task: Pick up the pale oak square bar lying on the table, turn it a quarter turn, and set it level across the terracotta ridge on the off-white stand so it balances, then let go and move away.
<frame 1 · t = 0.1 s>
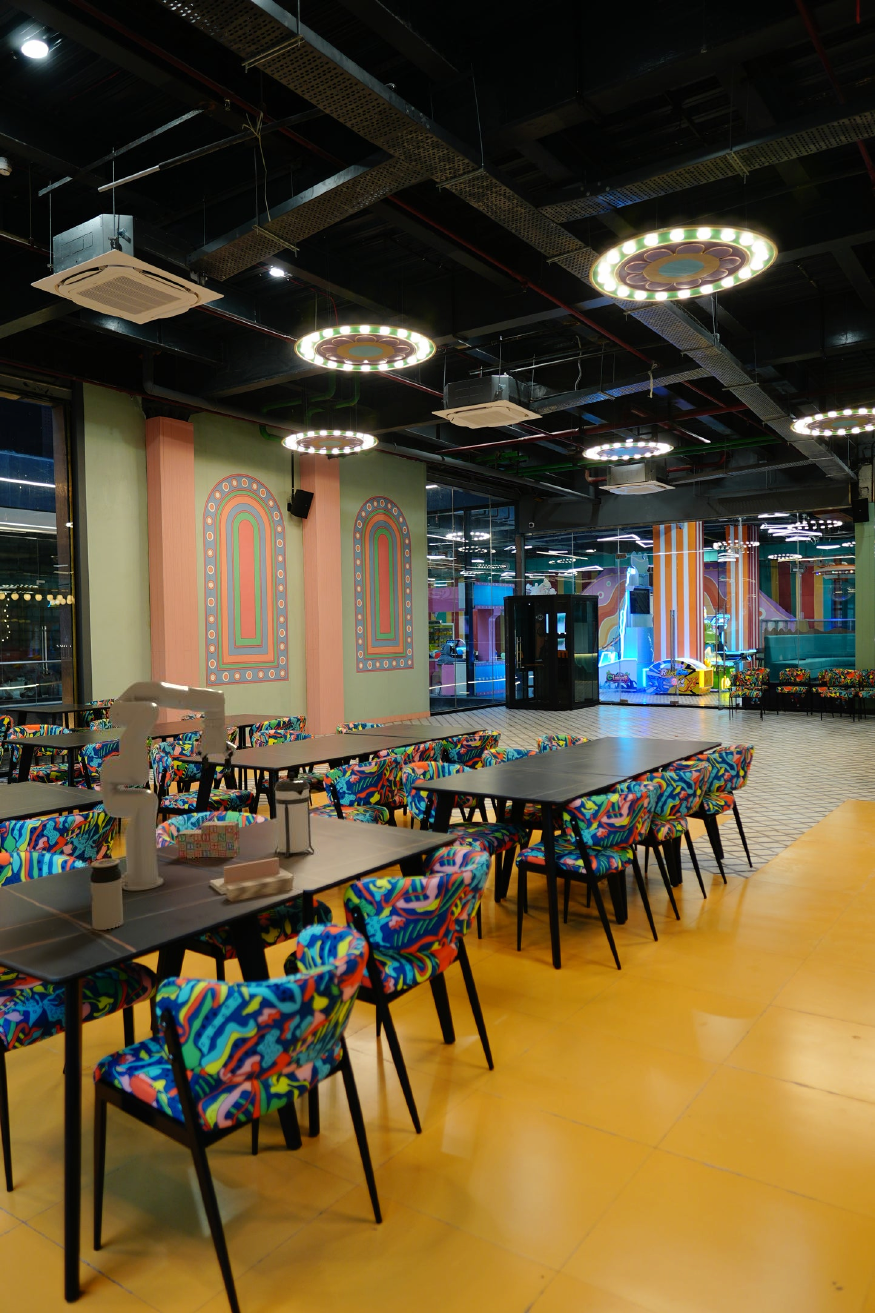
hand: (216, 768, 313), 31 cm above the table, tool pointing down, fingers open, 9 cm apart
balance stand: (252, 882, 270), on the table
coffee press: (292, 853, 307), on the table
stack of blocks: (209, 856, 307), on the table
travel mug: (108, 926, 233), on the table
oak bar: (260, 894, 258), on the table
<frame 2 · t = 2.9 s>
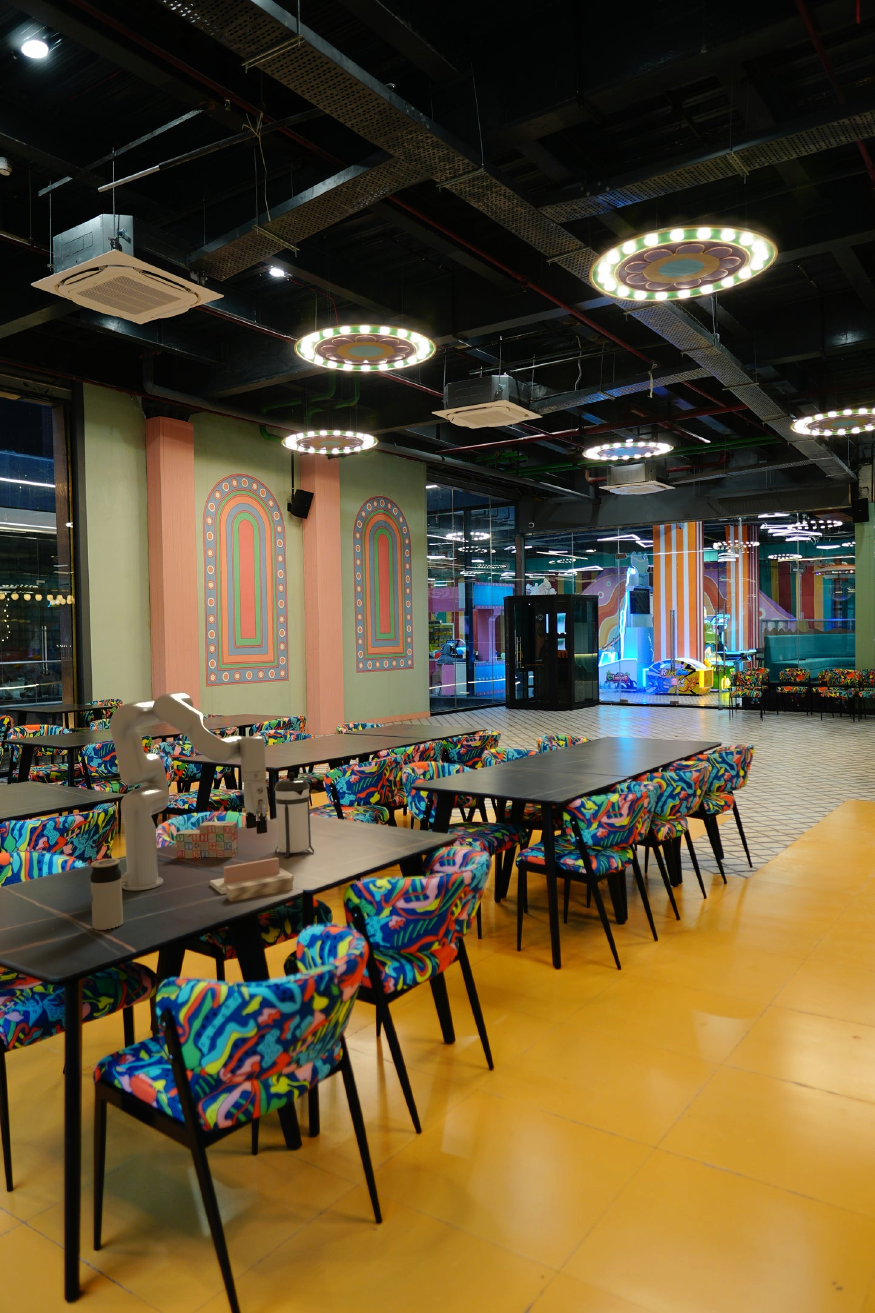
hand: (256, 830, 260), 19 cm above the table, tool pointing down, fingers open, 9 cm apart
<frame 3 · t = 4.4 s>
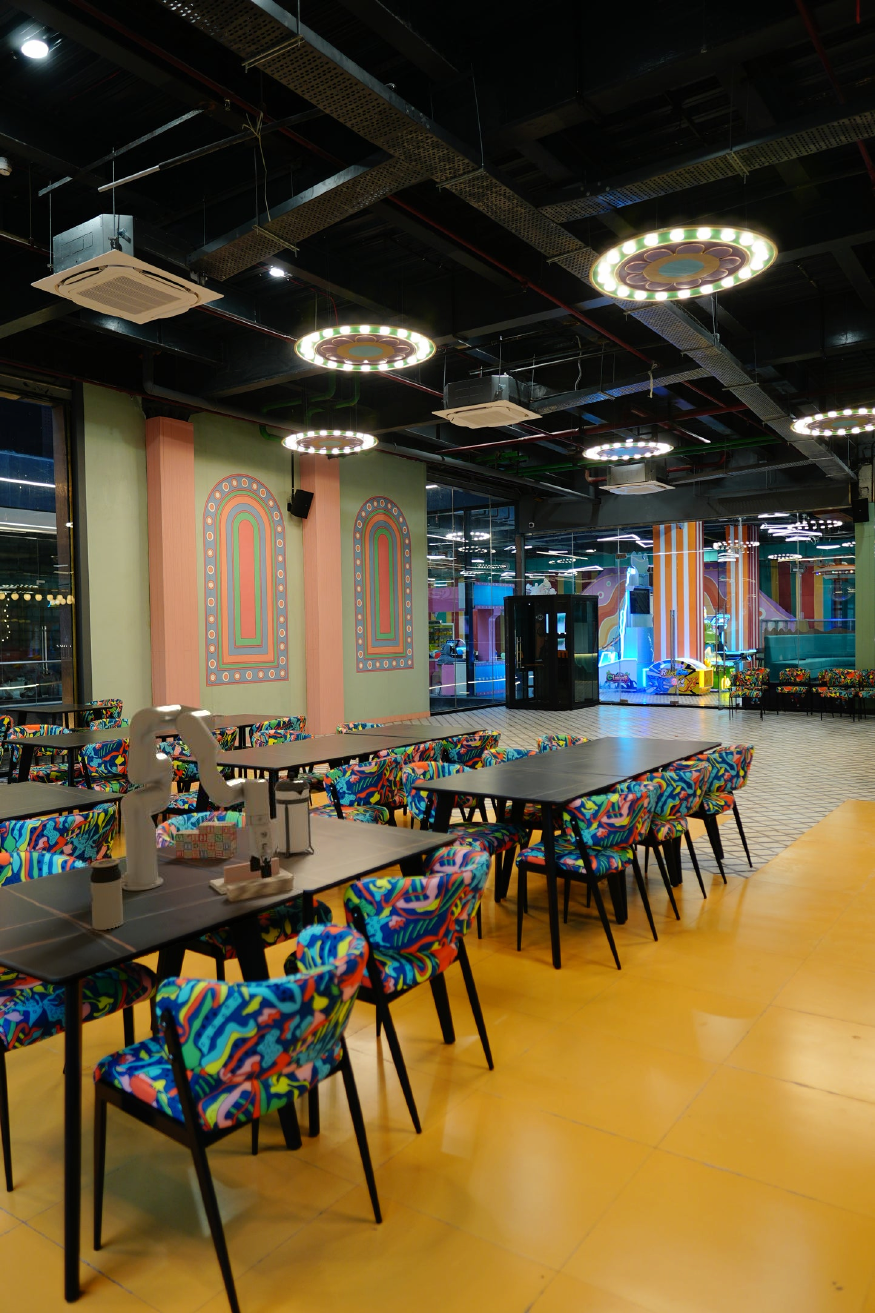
hand: (261, 874, 258), 6 cm above the table, tool pointing down, fingers open, 9 cm apart
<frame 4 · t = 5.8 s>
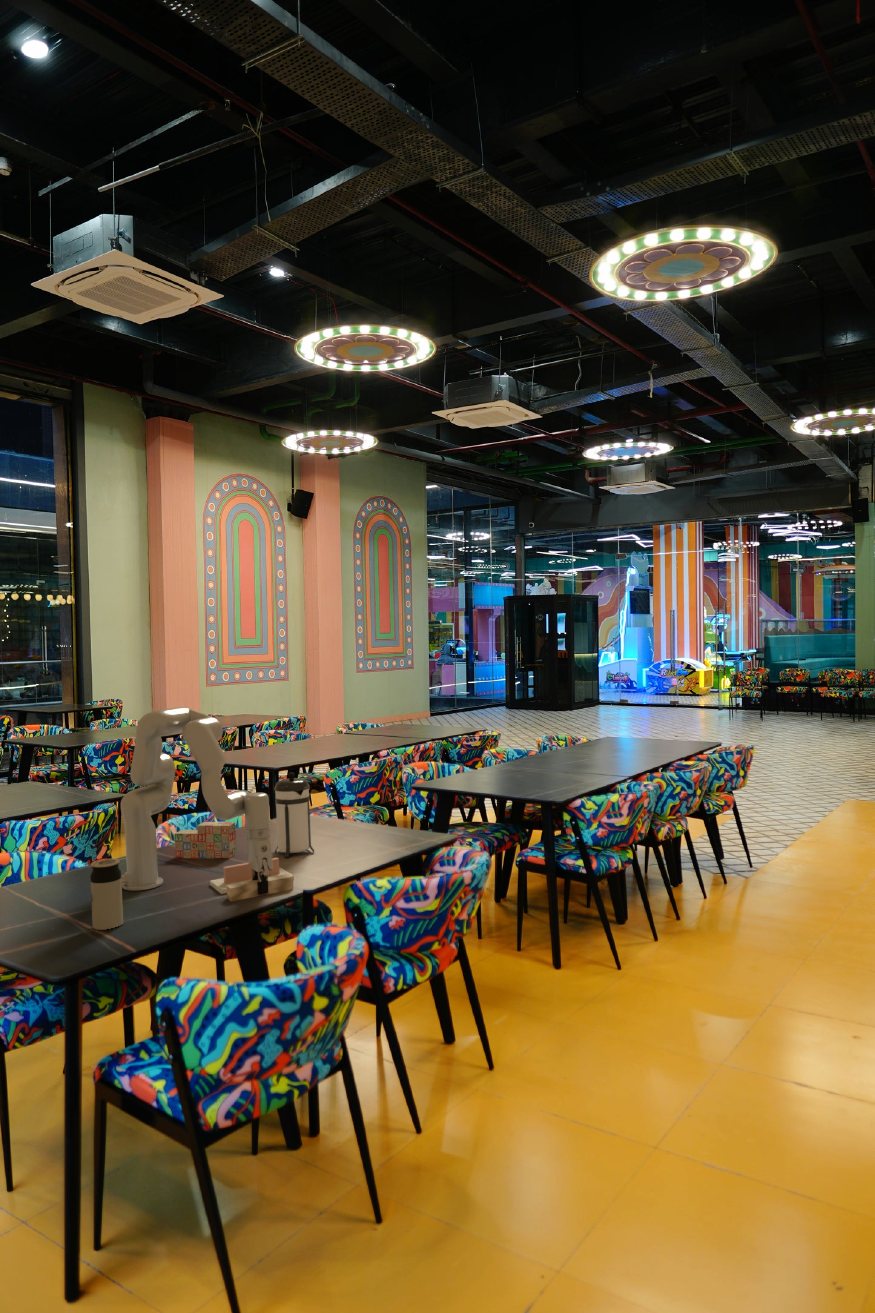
hand: (260, 891, 258), 1 cm above the table, tool pointing down, fingers closed on oak bar, 4 cm apart
oak bar: (260, 893, 258), on the table, touching gripper
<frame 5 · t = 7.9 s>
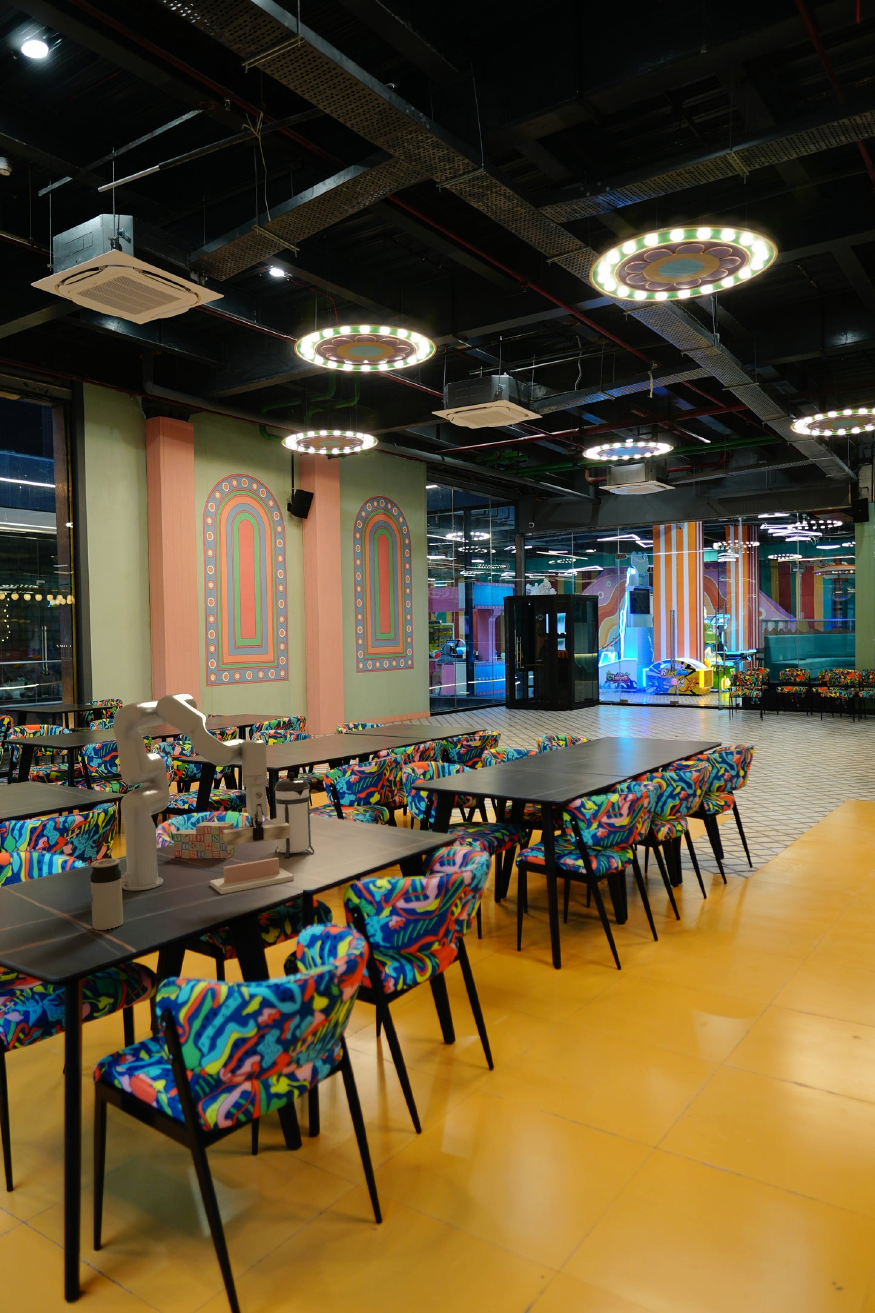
hand: (256, 838, 259), 17 cm above the table, tool pointing down, fingers closed on oak bar, 4 cm apart
oak bar: (257, 840, 259), point 16 cm above the table, touching gripper
when the fingers open (7 cm above the table, at t = 10.5 s): oak bar stays where it is, resting on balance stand.
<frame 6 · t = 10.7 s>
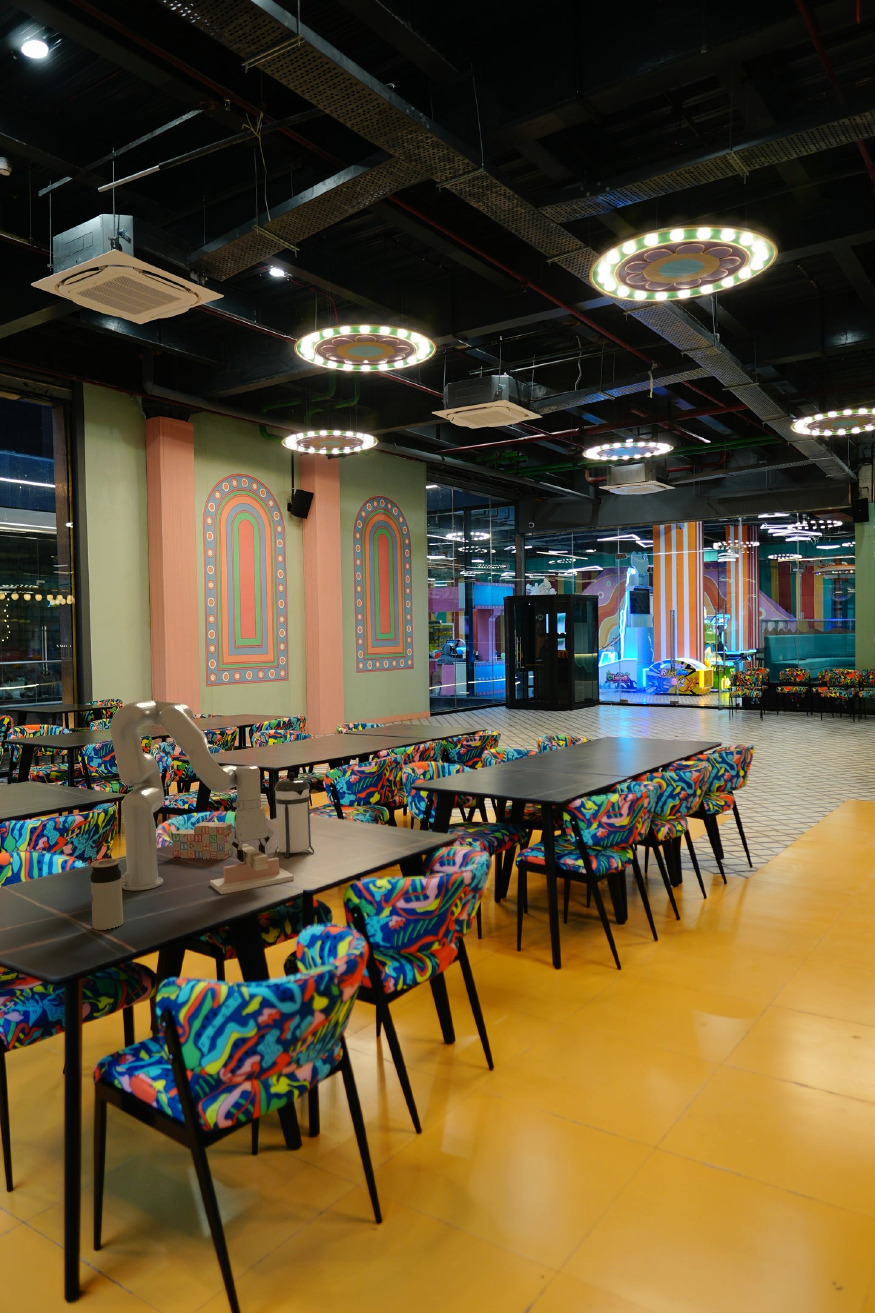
hand: (251, 858, 270), 8 cm above the table, tool pointing down, fingers open, 6 cm apart
oak bar: (251, 862, 270), point 6 cm above the table, touching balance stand
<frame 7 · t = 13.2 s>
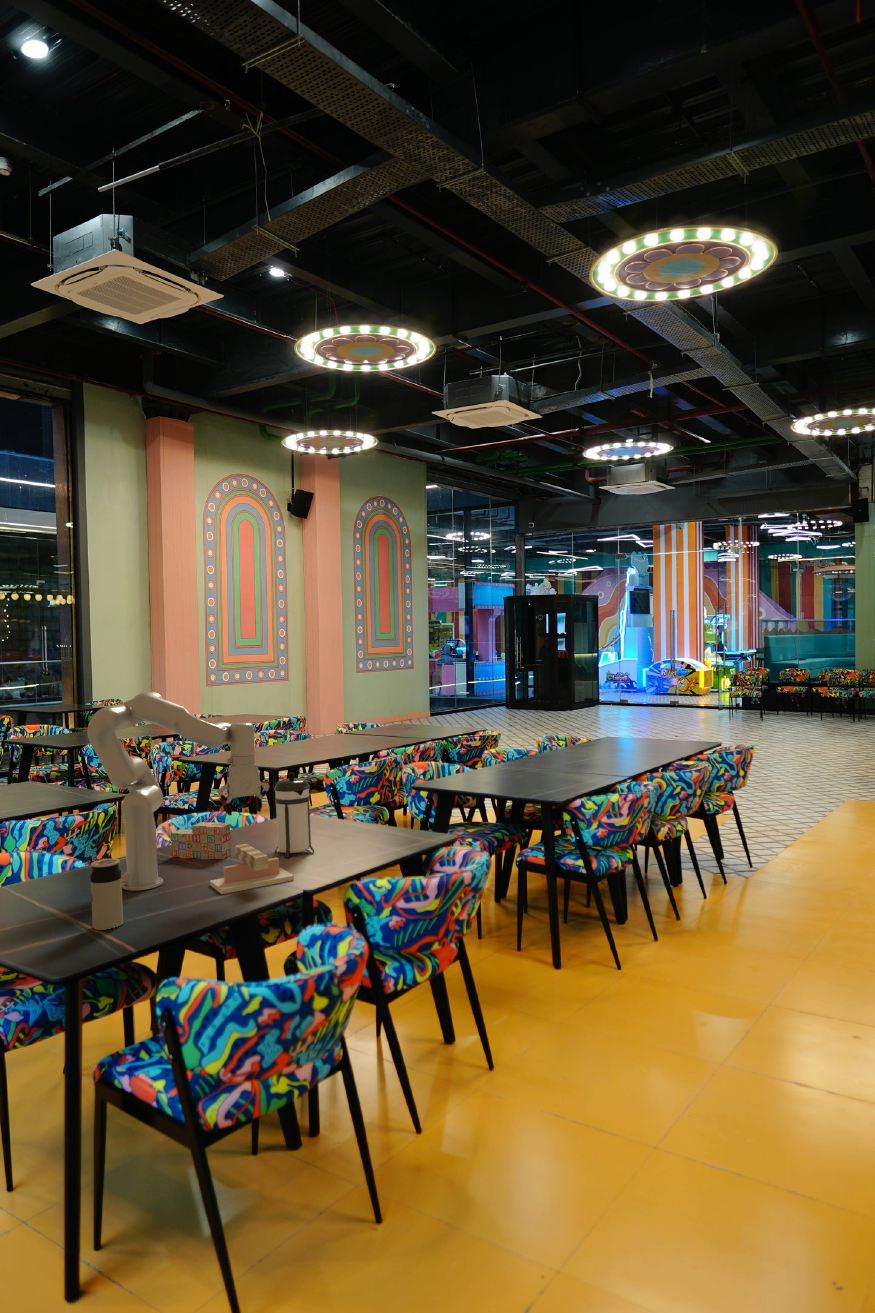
hand: (244, 813, 271), 23 cm above the table, tool pointing down, fingers open, 9 cm apart
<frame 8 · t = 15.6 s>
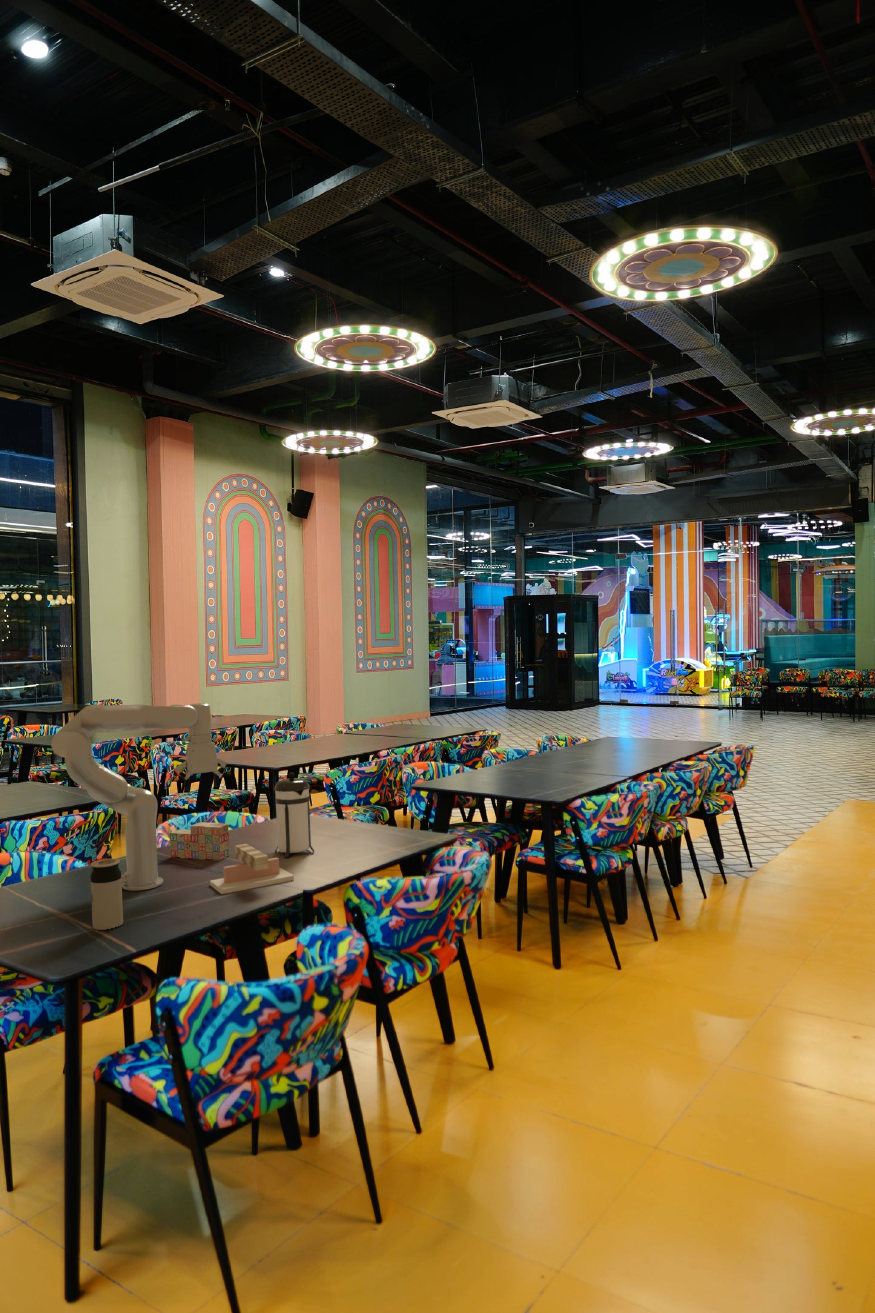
hand: (202, 788, 287), 28 cm above the table, tool pointing down, fingers open, 9 cm apart
at the end: oak bar inside the target area on the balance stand (0.0 cm from its centre), point 6.5 cm above the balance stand's base; oak bar tilted 0°; the gripper is holding nothing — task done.
